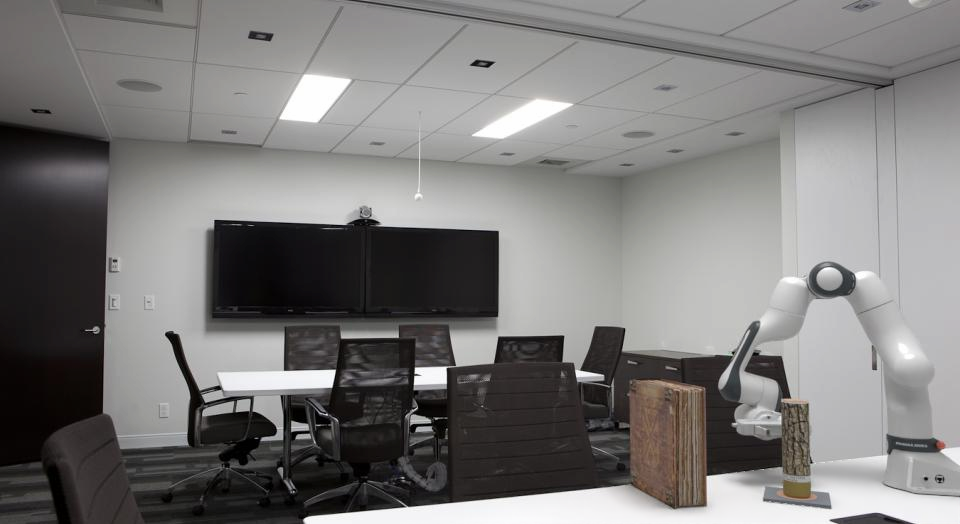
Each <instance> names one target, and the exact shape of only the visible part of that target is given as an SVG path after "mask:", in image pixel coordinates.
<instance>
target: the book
mask: <svg viewBox="0 0 960 524" xmlns="http://www.w3.org/2000/svg"><path fill="white" fill-rule="evenodd" d="M628 381H629V383H628V384H629V386H628V387H629V388H628V390H629V393H628V394H629V396H628V397H629V402H628V403H629V466H630V467H629V468H630V469H629V470H630V471H629V472H630V475H629V476H630V485H631V486H633V487H635V488H636V489H638V490H640V491H641V492H643V493H645V494H647V495H648V496H649V497H652V498H654V499H656V500H658V501H659V502H661V503H662V504H664V505H666V506H667V507H670V508H672V510H676V509H677V507H687V506H702V505H703V506H702V507H704V506H705V507H704V508H706V507H707V506H708V500H707V499H708V496H707V495H708V494H707V493H708V489H707V486H708V484H707V482H708V480H707V428H706V427H707V420H706V418H707V417H706V416H707V413H706V411H707V409H706V405H707V403H706V400H707V399H706V388H705V387H703V386H698V385H693V384H688V383H682V382H678V381H673V380H667V379H663V378H659V377H657V378H630V379H629V380H628Z"/></svg>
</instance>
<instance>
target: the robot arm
mask: <svg viewBox="0 0 960 524" xmlns="http://www.w3.org/2000/svg"><path fill="white" fill-rule="evenodd" d="M839 297H842V298H843V299H845V300H846V301H847V302H848V303H849V305H850V306H851V308H852V309H853V313H854V314H855V316H856V317H857V320H858V321H859V324H860V325H861V327H862V329H863V331H864V333H865V334H866V338H868V340H869V342H870V343H871V345H872V346H873V347H874V350H875V351H876V353H877V354H878V356H879V358H880V360H881V361H882V371H883V373H882V374H883V382H884V384H883V385H884V392H885V402H886V417H887V418H886V419H887V420H886V421H887V433H886V437H885V451H886V454H887V459H886V468H885V471H884V472H885V473H884V477H883V479H882V484H884V485H886V486H889V487H892V488H895V489H899V490H902V491H903V490H904V491H907V492H909V493H914V494H920V495H922V494H923V495H939V496H940V495H941V496H953V497H954V496H955V497H956V496H957V497H960V465H959V464H958V463H957V462H955V461H954V460H952V459H951V458H950V457H949V456H948V455H946V454H945V453H943V452H942V451H943V450H944V449H946V448H947V447H946V443H944V441H942V440H939V439H938V438H937V439H936V438H935V437H934V435H933V411H932V409H933V408H932V406H931V400H930V393H929V386H928V385H929V384H931V383H932V381H933V379H934V377H935V374H936V373H935V371H936V370H935V366H934V365H935V364H934V363H933V361H932V359H931V358H930V357H929V355H928V353H927V351H926V349H925V348H924V347H923V345H922V343H921V342H920V340H919V339H918V337H917V336H916V334H915V333H914V331H913V330H912V328H911V326H910V325H909V323H908V322H907V320H906V318H905V317H904V315H903V313H902V311H901V309H900V308H899V306H898V302H896V300H895V297H894V296H893V295H892V293H891V291H890V290H889V288H888V287H887V286H886V284H885V283H884V281H883V280H882V279H881V278H880V277H879V276H878V274H877V273H875V272H873V271H871V270H861V271H858V272H852V271H851V270H849V269H848V268H846V267H844V266H843V265H842V264H840V263H837V262H834V261H830V260H829V261H822V262H819V263H816V264H815V265H813V266H812V267H811V268H810V269H809V270H808V272H807V273H806V274H805V275H804V276H803V277H797V276H785V277H783V278H781V279H780V280H779V281H778V282H777V284H776V286H775V287H774V290H773V292H772V294H771V296H770V299H769V302H768V305H767V307H766V310H765V313H764V314H763V315H762V316H761V317H760V318H759V319H758V320H755V321H752V322H751V323H750V325H749V326H748V327H747V329H746V331H745V332H744V334H743V335H742V338H741V339H740V342H739V343H738V346H737V347H736V349H735V352H734V353H733V354H732V355H733V356H732V357H731V359H730V360H729V361H730V362H729V363H728V364H727V366H726V367H725V369H724V370H723V372H722V374H721V375H720V378H719V380H718V385H717V389H718V391H719V394H721V396H722V397H723V399H724V400H725V401H729V402H736V403H740V405H739V406H737V407H736V408H735V410H734V421H735V422H733V423H731V427H733V428H736V432H737V434H740V435H741V436H754V437H756V438H758V439H760V440H763V441H771V440H774V439H775V440H776V439H779V438H780V439H781V438H782V422H781V411H780V410H781V399H783V392H782V389H781V386H780V384H779V383H778V382H777V380H775V379H772V378H769V377H766V376H762V375H757V374H754V373H751V372H747V371H745V370H746V367H747V366H748V363H749V362H750V360H751V358H752V357H753V354H754V352H755V350H756V349H757V348H758V346H760V345H762V344H765V343H769V342H780V341H781V342H783V341H787V340H789V339H793V338H794V337H796V336H797V335H798V334H799V333H800V332H801V330H802V328H803V325H804V323H805V319H806V315H807V312H808V310H809V307H810V304H811V303H812V302H813V301H814V300H832V299H835V298H839ZM779 411H780V412H779ZM809 428H810V437H811V436H812V433H813V432H812V431H813V429H812V424H811V422H809Z"/></svg>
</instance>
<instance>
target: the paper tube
mask: <svg viewBox="0 0 960 524" xmlns="http://www.w3.org/2000/svg"><path fill="white" fill-rule="evenodd" d="M809 402H810V401H809V400H807V399H800V398H799V399H798V398H782V399H781V406H780V413H781V422H782V437H781V456H782V457H781V459H782V462H781V463H782V488H783V493H784V494H785V495H787V496H790V497H795V498H808V497H810V496H811V491H812V484H811V482H812V478H811V477H812V476H811V472H812V471H811V438H810V437H811V436H810V428H809V423H810V403H809Z"/></svg>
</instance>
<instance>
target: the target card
mask: <svg viewBox="0 0 960 524" xmlns="http://www.w3.org/2000/svg"><path fill="white" fill-rule="evenodd" d="M762 500H763V502H765V501H771V502H770V503H774V502H780V503H779V504H783V503H787V504H786V505H792V504H795V506H801V505H804V506H803V507H810V506H812V507H811V508H818V507H820V509H827V510H828V509H830V510H832V501H831V496H830V492H828V491H827V492H826V491H818V490H817V491H816V490H811V496H810V497H808V498H795V497H790V496H787V495H785V494H784V493H783V487H778V486H777V487H776V486H768V485H765V486H764V491H763V497H762Z"/></svg>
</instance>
